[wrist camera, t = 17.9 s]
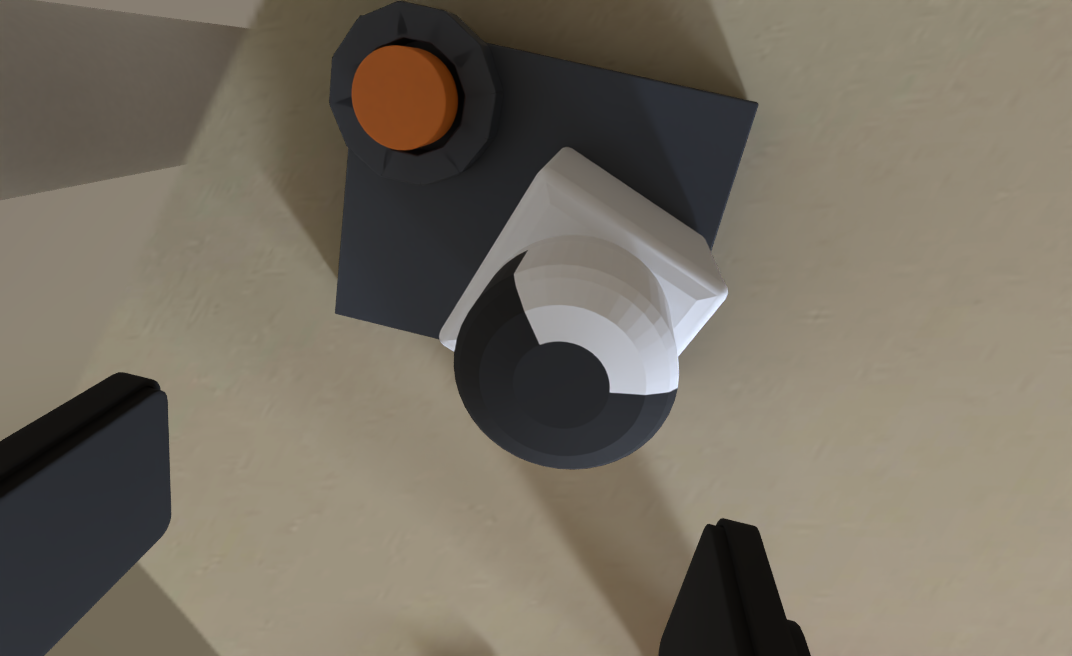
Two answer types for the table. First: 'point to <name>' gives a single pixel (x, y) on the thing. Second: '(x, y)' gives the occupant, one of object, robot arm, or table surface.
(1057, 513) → the table surface
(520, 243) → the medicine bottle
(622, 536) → the table surface
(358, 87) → the button
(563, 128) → the scale
